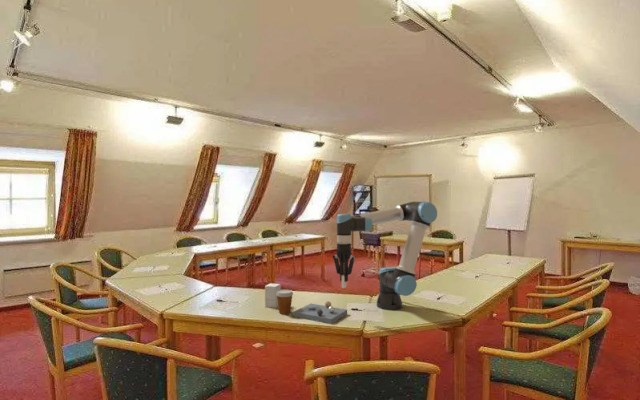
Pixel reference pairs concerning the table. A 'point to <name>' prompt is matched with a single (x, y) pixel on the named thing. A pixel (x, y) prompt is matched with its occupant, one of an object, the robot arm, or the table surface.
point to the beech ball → (328, 304)
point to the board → (311, 314)
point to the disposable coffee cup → (284, 301)
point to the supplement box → (271, 295)
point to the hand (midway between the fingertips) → (344, 287)
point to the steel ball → (331, 309)
